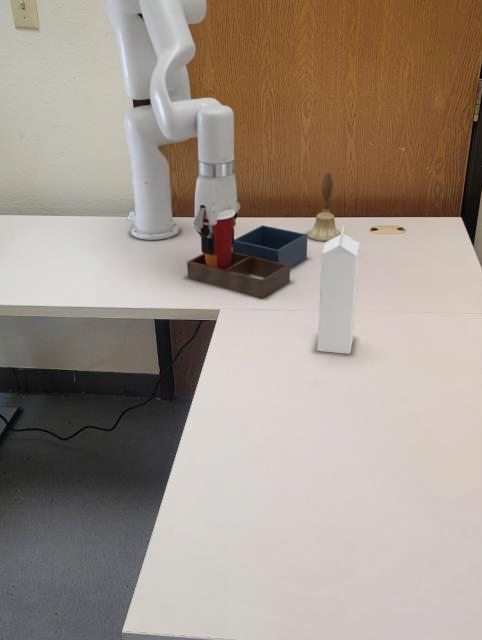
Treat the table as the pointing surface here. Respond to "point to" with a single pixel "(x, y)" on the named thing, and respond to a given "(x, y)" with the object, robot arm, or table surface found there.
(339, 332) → the milk
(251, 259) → the wooden divided tray
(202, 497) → the table surface
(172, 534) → the table surface
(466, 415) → the table surface
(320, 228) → the hand bell
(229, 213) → the paper cup
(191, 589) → the table surface
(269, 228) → the blue square tray
